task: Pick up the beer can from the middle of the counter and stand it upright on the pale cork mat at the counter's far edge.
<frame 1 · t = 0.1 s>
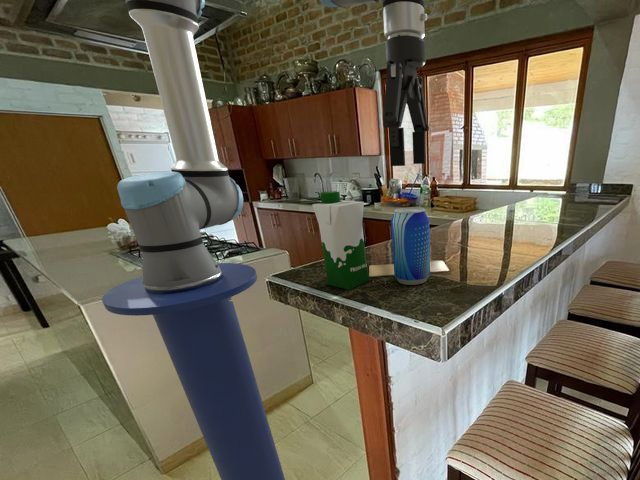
hand: (409, 165, 71), 25 cm above the countertop, tool pointing down, fingers open, 13 cm apart
milk carton: (348, 283, 78), on the countertop
beer can: (412, 280, 79), on the countertop
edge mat: (408, 269, 87), on the countertop
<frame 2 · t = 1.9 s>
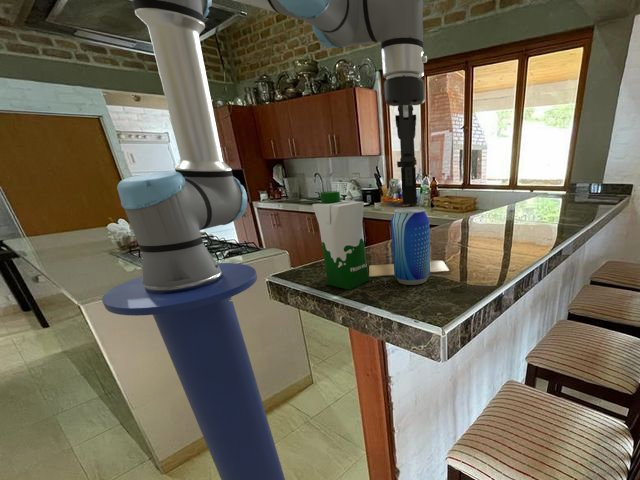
hand: (409, 200, 71), 18 cm above the countertop, tool pointing down, fingers open, 13 cm apart
nothing on the countertop moved.
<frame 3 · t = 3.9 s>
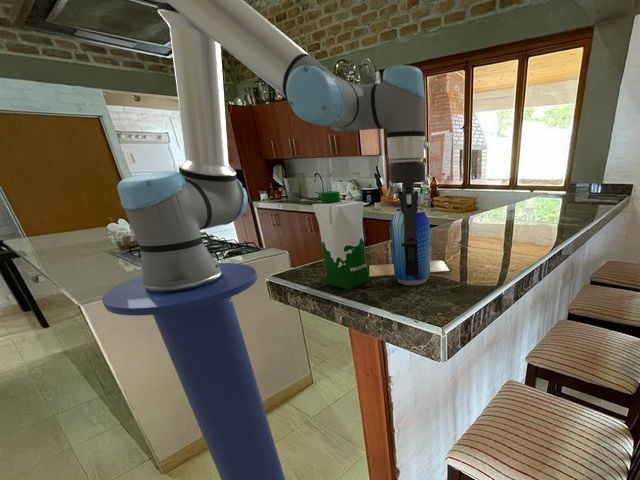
hand: (411, 268, 77), 3 cm above the countertop, tool pointing down, fingers closed on beer can, 8 cm apart
beer can: (412, 280, 79), on the countertop, touching gripper
everything else where it was.
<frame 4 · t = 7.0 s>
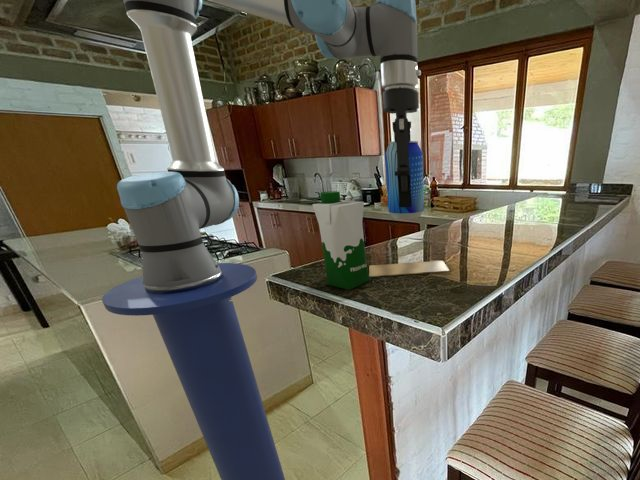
hand: (405, 204, 79), 16 cm above the countertop, tool pointing down, fingers closed on beer can, 8 cm apart
beer can: (406, 217, 80), point 13 cm above the countertop, touching gripper
everything else where it was.
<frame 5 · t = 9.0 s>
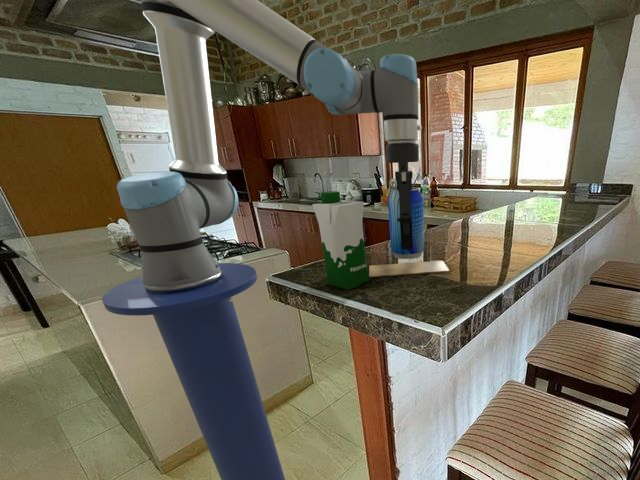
hand: (407, 244, 84), 6 cm above the countertop, tool pointing down, fingers closed on beer can, 8 cm apart
beer can: (408, 256, 85), point 3 cm above the countertop, touching gripper
everything else where it was.
when the fingers open (3 cm above the countertop, at t = 10.4 s): beer can stays where it is, resting on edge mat.
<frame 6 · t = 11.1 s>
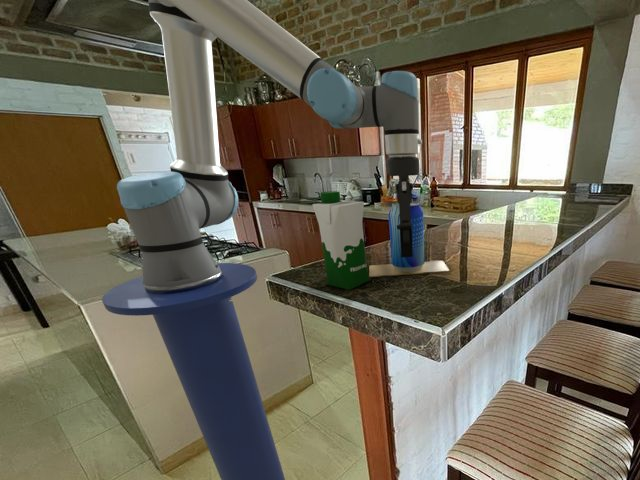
hand: (407, 249, 84), 5 cm above the countertop, tool pointing down, fingers open, 13 cm apart
beer can: (408, 268, 87), resting on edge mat
everything else where it was.
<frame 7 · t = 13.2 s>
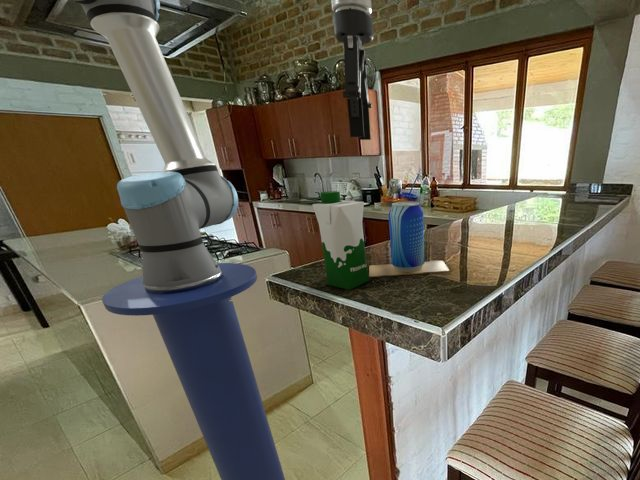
hand: (361, 138, 74), 30 cm above the countertop, tool pointing down, fingers open, 13 cm apart
nothing on the countertop moved.
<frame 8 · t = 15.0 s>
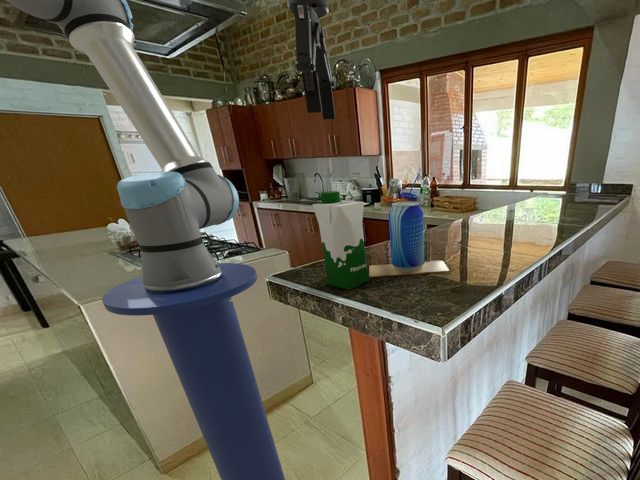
hand: (322, 116, 72), 35 cm above the countertop, tool pointing down, fingers open, 13 cm apart
nothing on the countertop moved.
at the end: beer can inside the target area (0.1 cm from its centre), resting on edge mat; beer can tilted 0°; milk carton moved 0.2 cm from its start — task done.
